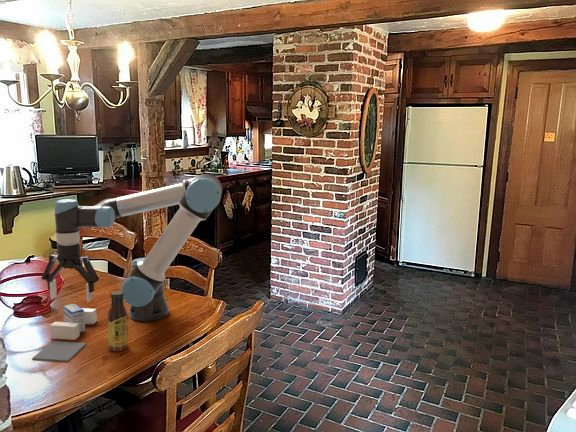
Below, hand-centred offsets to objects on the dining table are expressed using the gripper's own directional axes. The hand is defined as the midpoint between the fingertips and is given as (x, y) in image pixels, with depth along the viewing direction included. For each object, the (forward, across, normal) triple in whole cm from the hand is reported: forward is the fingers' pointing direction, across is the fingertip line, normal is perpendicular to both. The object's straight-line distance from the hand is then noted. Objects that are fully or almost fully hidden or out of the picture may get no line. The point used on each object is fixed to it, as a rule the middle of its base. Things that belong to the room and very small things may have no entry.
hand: (71, 299), depth 172 cm
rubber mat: (+12, -4, +17) cm, 21 cm away
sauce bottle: (+12, -22, +12) cm, 28 cm away
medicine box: (+12, -1, 0) cm, 12 cm away
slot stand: (+12, -1, 0) cm, 12 cm away
